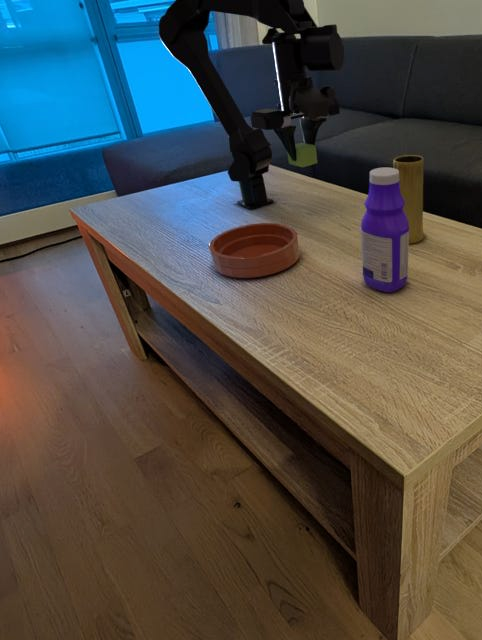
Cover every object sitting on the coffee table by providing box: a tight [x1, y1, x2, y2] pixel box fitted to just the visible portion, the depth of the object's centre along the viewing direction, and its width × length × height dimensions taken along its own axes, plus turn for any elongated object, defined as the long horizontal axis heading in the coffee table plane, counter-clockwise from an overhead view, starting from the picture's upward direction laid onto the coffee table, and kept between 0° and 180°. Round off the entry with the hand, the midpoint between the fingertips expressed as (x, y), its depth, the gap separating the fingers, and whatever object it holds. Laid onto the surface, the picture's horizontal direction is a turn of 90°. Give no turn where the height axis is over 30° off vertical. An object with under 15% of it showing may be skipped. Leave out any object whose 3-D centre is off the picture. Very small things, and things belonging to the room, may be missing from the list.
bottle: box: [360, 166, 410, 293], centre depth 66 cm, size 7×6×17 cm
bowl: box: [208, 222, 301, 279], centre depth 81 cm, size 16×16×4 cm
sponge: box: [286, 142, 318, 168], centre depth 95 cm, size 5×4×4 cm
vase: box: [392, 154, 425, 245], centre depth 81 cm, size 6×6×14 cm
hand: (302, 158), depth 95 cm, fingers closed on sponge, 4 cm apart
